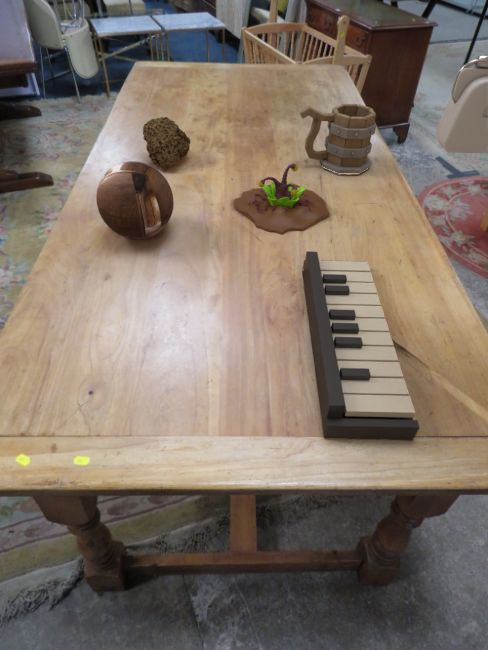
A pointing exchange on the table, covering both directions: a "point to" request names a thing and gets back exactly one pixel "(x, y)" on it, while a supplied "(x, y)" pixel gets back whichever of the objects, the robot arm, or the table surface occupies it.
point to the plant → (282, 206)
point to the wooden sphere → (134, 200)
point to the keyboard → (352, 352)
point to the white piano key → (378, 406)
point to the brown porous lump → (165, 142)
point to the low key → (344, 266)
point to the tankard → (342, 137)
